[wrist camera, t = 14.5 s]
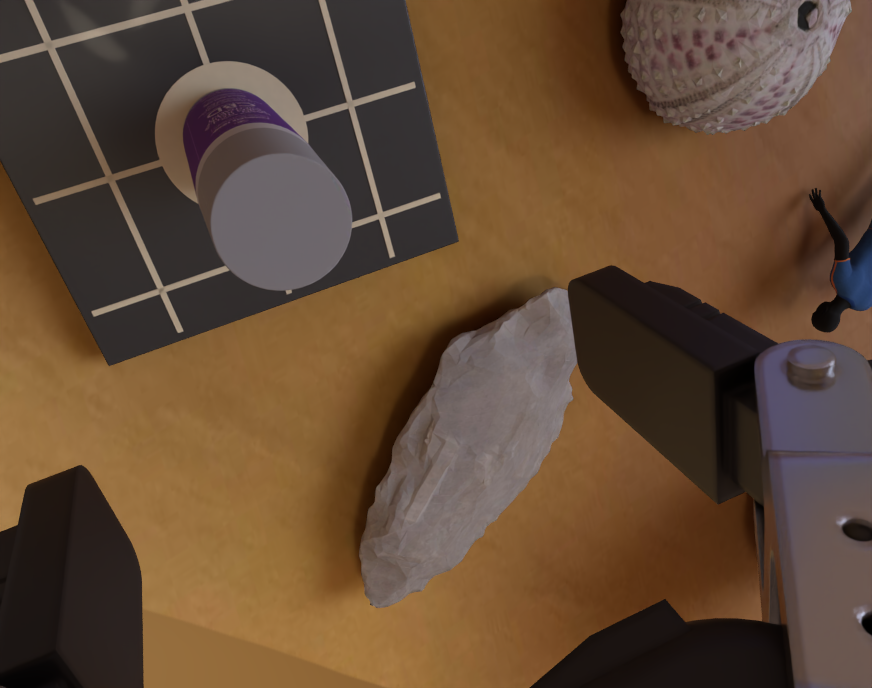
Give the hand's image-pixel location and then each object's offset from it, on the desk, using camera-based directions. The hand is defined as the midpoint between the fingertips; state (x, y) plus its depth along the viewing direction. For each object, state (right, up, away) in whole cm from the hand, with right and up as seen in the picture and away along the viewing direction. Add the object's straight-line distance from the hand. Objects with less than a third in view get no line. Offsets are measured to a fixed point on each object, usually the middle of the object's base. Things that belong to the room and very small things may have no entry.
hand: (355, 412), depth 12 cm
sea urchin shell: (+17, +21, +31) cm, 41 cm away
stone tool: (+2, -5, +38) cm, 39 cm away
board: (-9, +12, +25) cm, 29 cm away
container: (-9, +11, +24) cm, 28 cm away
